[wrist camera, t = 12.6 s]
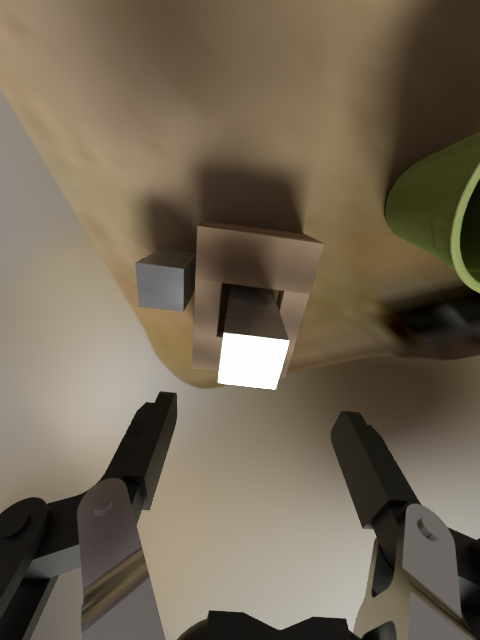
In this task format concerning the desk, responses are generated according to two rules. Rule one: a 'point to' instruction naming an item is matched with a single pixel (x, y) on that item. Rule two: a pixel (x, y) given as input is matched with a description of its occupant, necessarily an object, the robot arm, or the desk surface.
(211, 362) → the block with rectangular hole
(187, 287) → the grey rectangular block
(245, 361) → the tall pin
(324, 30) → the desk surface
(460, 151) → the plant pot
